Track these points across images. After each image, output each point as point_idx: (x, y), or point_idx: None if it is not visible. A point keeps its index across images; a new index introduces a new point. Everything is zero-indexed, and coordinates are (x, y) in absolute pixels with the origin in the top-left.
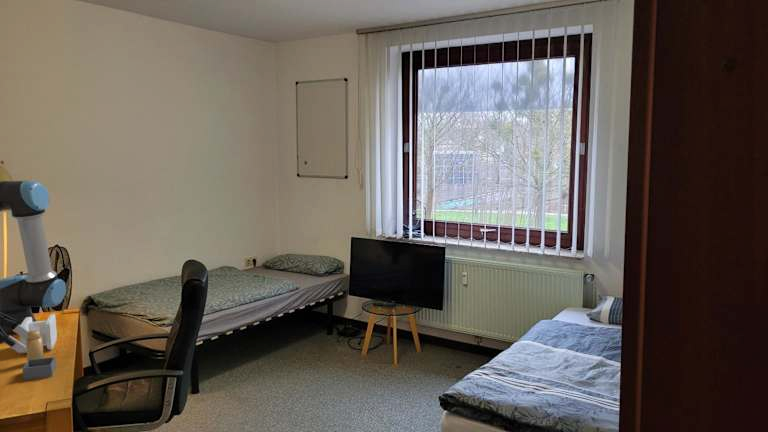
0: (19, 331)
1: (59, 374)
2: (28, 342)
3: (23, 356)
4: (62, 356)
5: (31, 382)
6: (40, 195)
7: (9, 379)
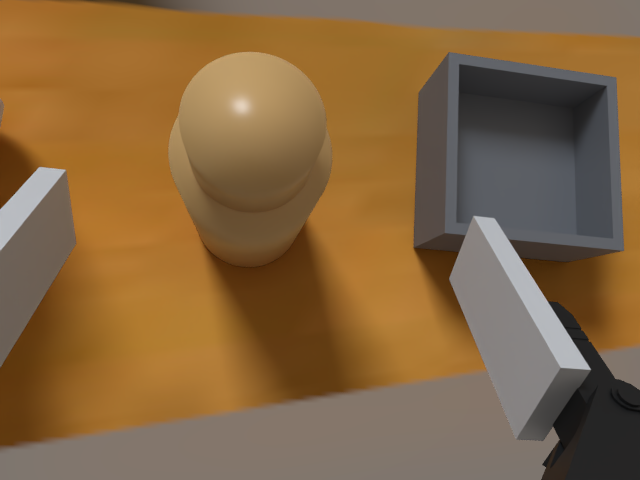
0: (5, 316)
1: None
2: (312, 207)
3: None
4: (190, 53)
5: None
6: None
7: None
